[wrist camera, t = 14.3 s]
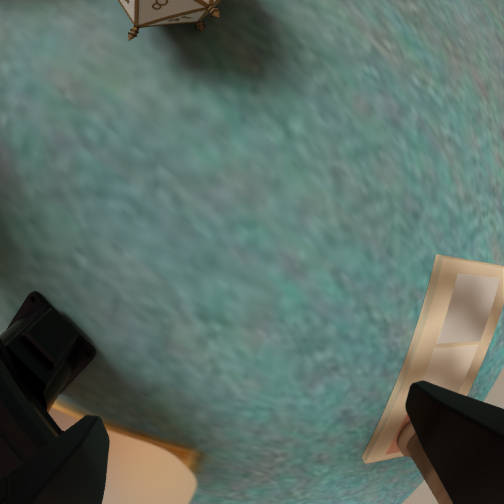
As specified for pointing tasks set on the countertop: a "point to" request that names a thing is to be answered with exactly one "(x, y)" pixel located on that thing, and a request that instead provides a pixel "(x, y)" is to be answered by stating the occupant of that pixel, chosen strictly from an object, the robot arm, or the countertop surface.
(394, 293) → the countertop surface
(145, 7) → the game die
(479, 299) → the board
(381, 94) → the countertop surface
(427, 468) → the pawn
